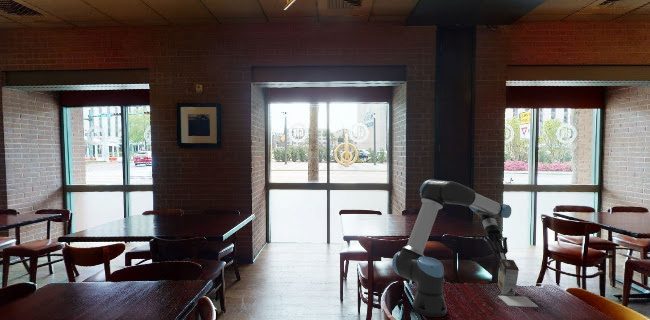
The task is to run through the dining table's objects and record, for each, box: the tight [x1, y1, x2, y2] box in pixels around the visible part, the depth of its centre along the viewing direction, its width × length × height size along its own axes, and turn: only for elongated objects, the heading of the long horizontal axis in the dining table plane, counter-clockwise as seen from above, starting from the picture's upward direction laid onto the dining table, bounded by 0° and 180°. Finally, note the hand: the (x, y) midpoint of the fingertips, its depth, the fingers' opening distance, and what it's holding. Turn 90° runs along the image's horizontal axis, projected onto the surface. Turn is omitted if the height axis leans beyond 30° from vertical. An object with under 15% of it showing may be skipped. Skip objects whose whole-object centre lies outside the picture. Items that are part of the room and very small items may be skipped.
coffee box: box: [497, 259, 520, 296], centre depth 173 cm, size 9×6×16 cm
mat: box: [497, 295, 539, 308], centre depth 164 cm, size 14×11×1 cm
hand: (504, 265), depth 177 cm, fingers closed
